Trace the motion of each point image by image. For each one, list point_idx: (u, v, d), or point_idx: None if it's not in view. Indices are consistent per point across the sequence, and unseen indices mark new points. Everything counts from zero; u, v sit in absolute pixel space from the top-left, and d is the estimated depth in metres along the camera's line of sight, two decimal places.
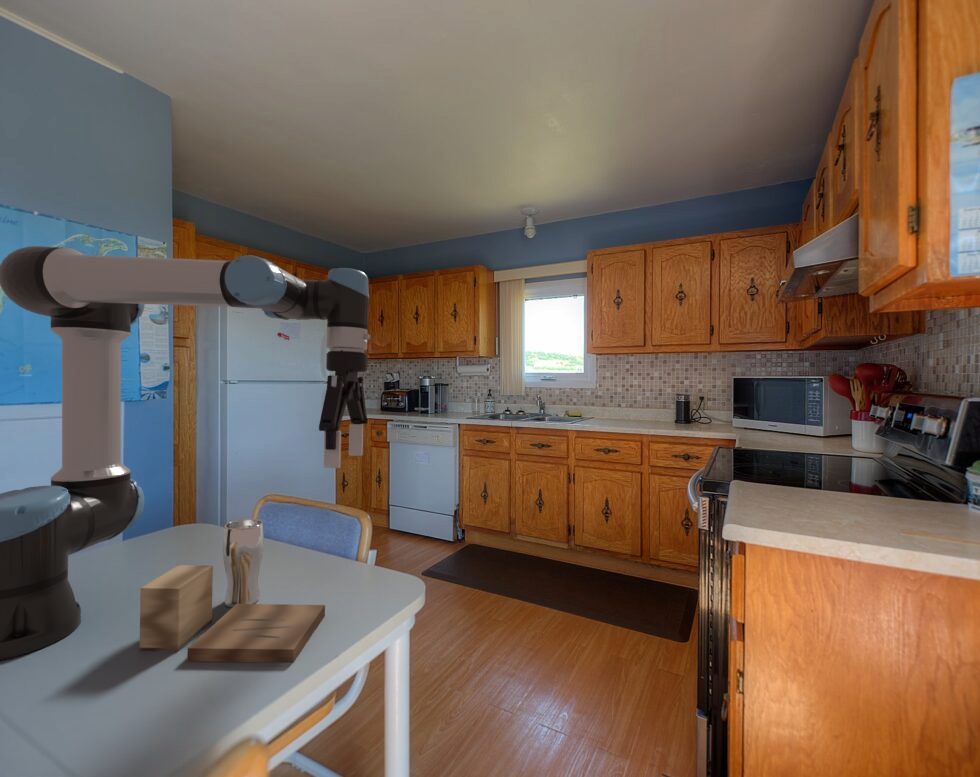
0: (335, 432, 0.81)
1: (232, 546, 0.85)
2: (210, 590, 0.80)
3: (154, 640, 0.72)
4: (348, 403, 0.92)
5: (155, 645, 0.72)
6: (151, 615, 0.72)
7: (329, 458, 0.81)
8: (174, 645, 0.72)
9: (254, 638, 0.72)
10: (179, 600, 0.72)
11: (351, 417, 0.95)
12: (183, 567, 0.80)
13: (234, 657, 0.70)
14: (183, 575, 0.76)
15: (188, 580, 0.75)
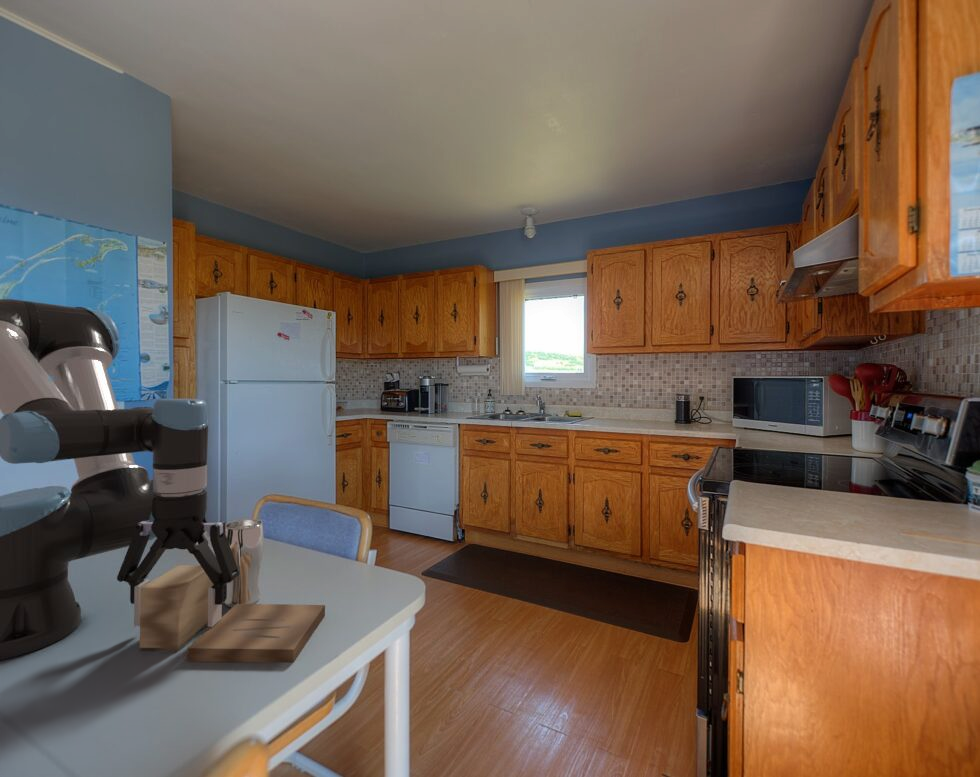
0: (135, 585, 0.75)
1: (232, 546, 0.85)
2: None
3: (154, 640, 0.72)
4: None
5: (155, 645, 0.72)
6: (151, 615, 0.72)
7: None
8: (174, 645, 0.72)
9: (254, 638, 0.72)
10: (179, 600, 0.72)
11: None
12: (183, 567, 0.80)
13: (234, 657, 0.70)
14: (183, 575, 0.76)
15: (188, 580, 0.75)
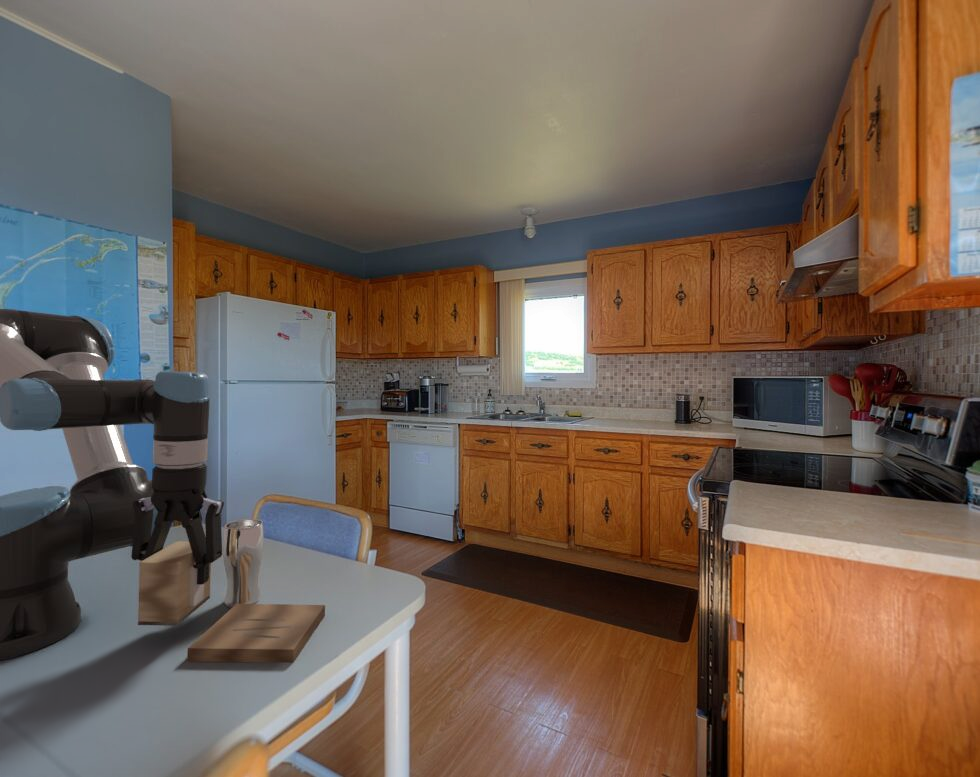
0: None
1: (232, 546, 0.85)
2: None
3: (153, 614, 0.72)
4: None
5: (154, 619, 0.72)
6: (150, 589, 0.72)
7: None
8: (173, 619, 0.72)
9: (254, 638, 0.72)
10: (178, 575, 0.72)
11: None
12: (182, 543, 0.80)
13: (234, 657, 0.70)
14: (182, 551, 0.77)
15: (187, 556, 0.75)
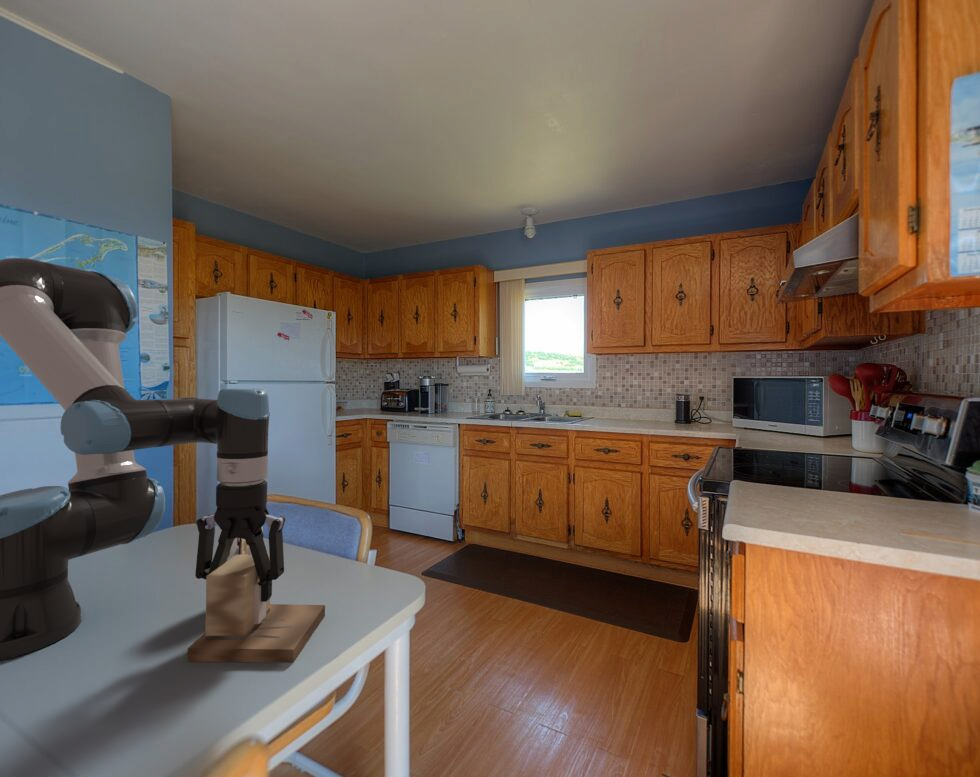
0: None
1: (232, 546, 0.85)
2: None
3: (220, 628, 0.72)
4: None
5: (221, 633, 0.72)
6: (217, 603, 0.72)
7: None
8: (240, 633, 0.72)
9: (254, 638, 0.72)
10: (245, 588, 0.72)
11: None
12: (242, 556, 0.80)
13: (234, 657, 0.70)
14: (245, 564, 0.77)
15: (251, 568, 0.75)
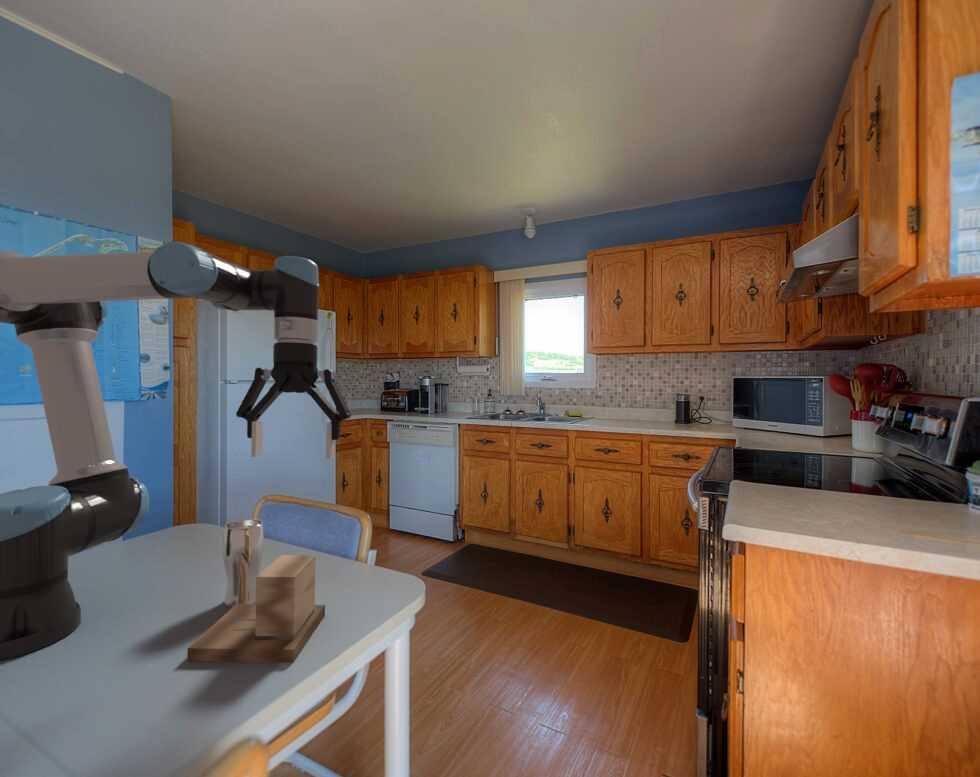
0: (251, 422, 0.84)
1: (232, 546, 0.85)
2: (313, 580, 0.81)
3: (270, 628, 0.72)
4: None
5: (271, 633, 0.72)
6: (267, 603, 0.72)
7: None
8: (289, 633, 0.72)
9: (254, 638, 0.72)
10: (294, 588, 0.72)
11: None
12: (288, 557, 0.80)
13: (234, 657, 0.70)
14: (292, 565, 0.77)
15: (299, 569, 0.75)
